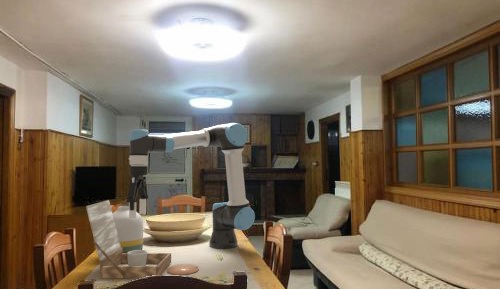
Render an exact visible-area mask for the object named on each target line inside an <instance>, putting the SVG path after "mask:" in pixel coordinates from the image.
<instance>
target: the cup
mask: <svg viewBox="0 0 500 289" xmlns="http://www.w3.org/2000/svg"><path fill="white" fill-rule="evenodd" d="M147 253H148V250H146V249H142V250H133V251H129V252H128V253H127V256H128V263H127V264H128V265H127V266H147V263H146V259H147Z"/></svg>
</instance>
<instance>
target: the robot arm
mask: <svg viewBox="0 0 500 289" xmlns="http://www.w3.org/2000/svg"><path fill="white" fill-rule="evenodd" d="M247 141H248V132H247V129H246V128H245V127H244V126H243V125H242V124H241V123H239V122H237V123H236V122H230V123H225V124H217V125H215V126H211V127H207V128H201V129H200V130H195V131H188V132H187V131H186V132H178V133H171V134H170V133H169V134H163V135H162V134H154V135H153V134H149V130H148V129H139V128H138V129H137V128H136V129H135V128H134V129H131V130H130V134H129V157H128V160H129V165H130V166H129V167H128V168H129V170H128V171H129V172H128V174H129V176H133V177H130V178H129V187H128V194H127V198H126V203H128V206H129V218H135V219H136V212H137V198H138V194H139V197H140V198H139V209H138V210H139V212H138V213H139V214H140V215H147V199H149V195H148V187H147V175H148V170H149V169H148V168H149V167H148V165H149V154H151V153H172V152H173V151H174V150H176V149H177V150H178V149H185V148H191V147H204V148H206V147H207V148H208V147H220V149H221V152H222V153H223V154H224V159H225V160H224V161H225V169H226V170H225V171H226V172H225V174H226V183H227V193H228V201H226V202H217V203H216V202H215V203H213V205H212V232H211V236H210V239H209V242H208V243H209V244H208V245H209V247H210V248H213V249H230V248H231V249H232V248H235V247H236V248H237V246H238V238H237V236H236V233H235V230H238V231H245V230H248V229H250V228H251V227H252V226H253V224H254V222H255V218H256V214H255V211H254V210H253V209H252V208H251V207H250V201H249V200H248V199H247V197H246V187H245V186H246V185H245V178H244V177H245V175H244V167H243V166H244V164H243V155H242V153H243V151H244V149H245V144H246V143H247Z"/></svg>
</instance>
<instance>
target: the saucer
mask: <svg viewBox="0 0 500 289" xmlns="http://www.w3.org/2000/svg"><path fill="white" fill-rule="evenodd" d="M199 268H200V267H199V266H198V265H196V264H190V263H189V264H188V263H184V264H183V263H182V264H175V265H171V266H168V267H167V268H166V269H167V270H166V272H167V273H168V274H170V275H175V276H184V275H185V276H186V275H191V274H196V273H197V272H198V271H199Z"/></svg>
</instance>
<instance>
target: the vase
mask: <svg viewBox="0 0 500 289" xmlns="http://www.w3.org/2000/svg"><path fill="white" fill-rule="evenodd" d="M112 214H113V218H114V222H115V226H116V230H117V234H118V238H119V242H120V245H121V248H123V253H128V252H129V251H133V250H143V247H144V220H143V217H142V214H139V212H138V211H136V219H135V218H129V205H120V206H118V207H117V209H116V210H115V211H114V212H112Z"/></svg>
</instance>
